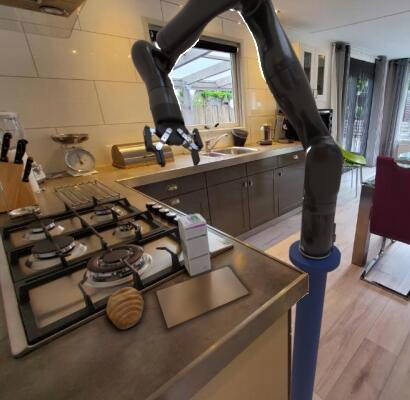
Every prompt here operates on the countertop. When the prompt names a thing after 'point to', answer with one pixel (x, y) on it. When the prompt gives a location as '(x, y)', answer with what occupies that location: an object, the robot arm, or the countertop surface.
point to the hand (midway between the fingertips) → (180, 165)
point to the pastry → (125, 307)
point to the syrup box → (194, 243)
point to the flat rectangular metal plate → (199, 295)
